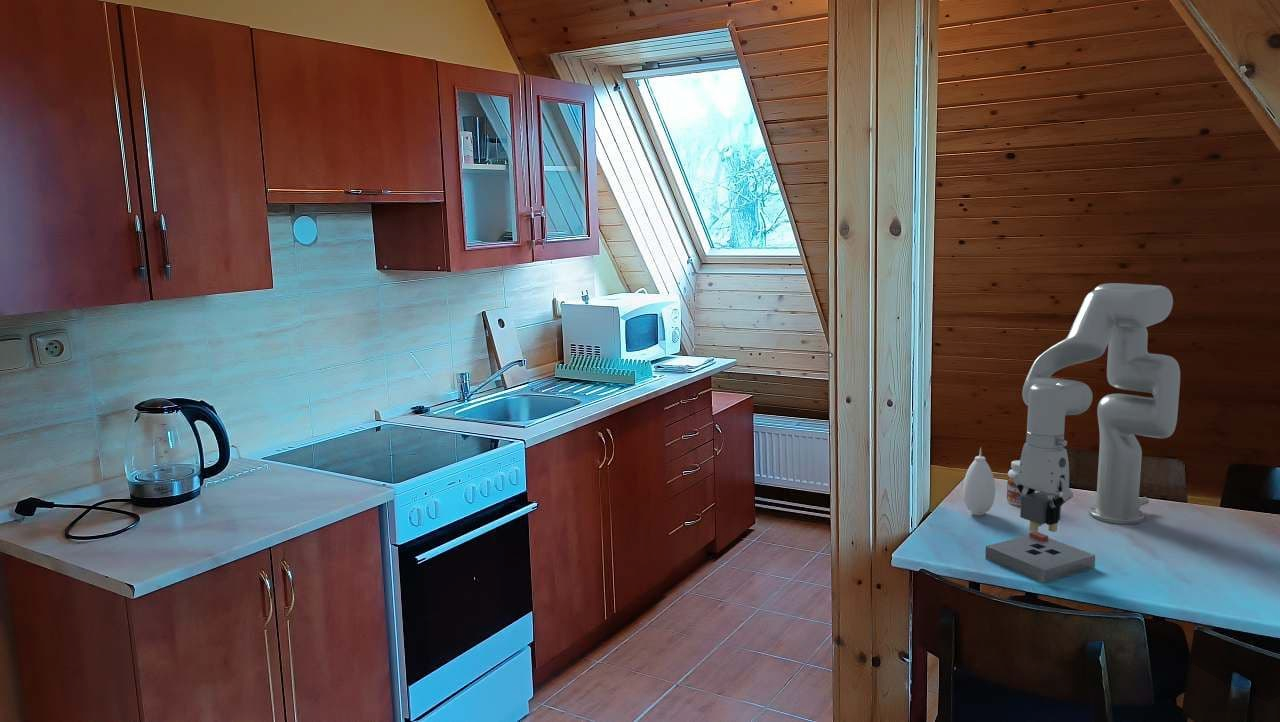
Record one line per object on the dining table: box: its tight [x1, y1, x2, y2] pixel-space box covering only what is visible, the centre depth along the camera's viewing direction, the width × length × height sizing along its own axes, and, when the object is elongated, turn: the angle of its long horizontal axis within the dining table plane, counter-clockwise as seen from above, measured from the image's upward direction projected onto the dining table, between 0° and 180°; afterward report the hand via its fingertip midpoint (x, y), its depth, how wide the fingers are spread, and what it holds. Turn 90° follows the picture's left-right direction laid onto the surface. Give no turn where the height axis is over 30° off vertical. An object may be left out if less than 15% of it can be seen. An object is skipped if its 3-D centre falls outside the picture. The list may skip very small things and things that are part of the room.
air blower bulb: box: [962, 446, 996, 517], centre depth 239 cm, size 8×8×18 cm
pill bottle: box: [1006, 459, 1021, 507], centre depth 247 cm, size 6×6×11 cm
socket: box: [984, 531, 1096, 584], centre depth 208 cm, size 16×16×4 cm
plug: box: [1019, 491, 1062, 533], centre depth 206 cm, size 6×6×8 cm
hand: (1040, 518), depth 206 cm, fingers closed on plug, 5 cm apart
